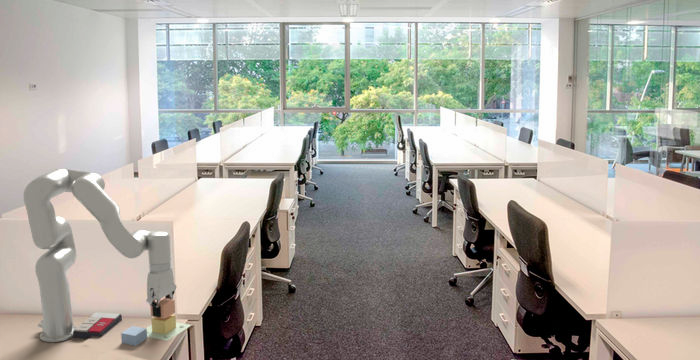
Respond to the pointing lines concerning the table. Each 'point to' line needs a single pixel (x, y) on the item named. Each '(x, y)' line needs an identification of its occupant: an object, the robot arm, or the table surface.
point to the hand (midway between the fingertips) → (162, 312)
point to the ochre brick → (163, 324)
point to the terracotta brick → (165, 307)
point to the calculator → (97, 325)
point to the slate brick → (134, 335)
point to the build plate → (169, 335)
